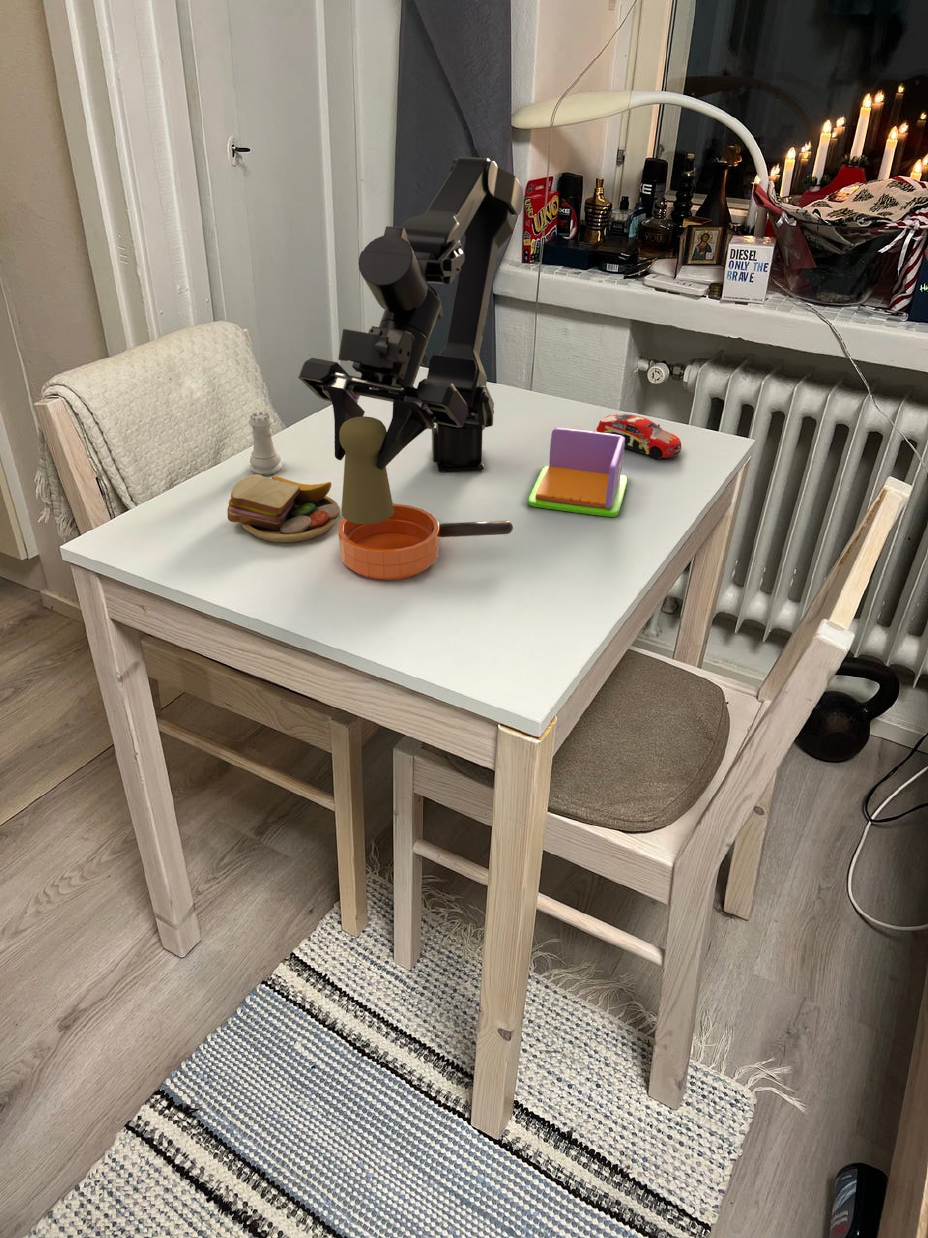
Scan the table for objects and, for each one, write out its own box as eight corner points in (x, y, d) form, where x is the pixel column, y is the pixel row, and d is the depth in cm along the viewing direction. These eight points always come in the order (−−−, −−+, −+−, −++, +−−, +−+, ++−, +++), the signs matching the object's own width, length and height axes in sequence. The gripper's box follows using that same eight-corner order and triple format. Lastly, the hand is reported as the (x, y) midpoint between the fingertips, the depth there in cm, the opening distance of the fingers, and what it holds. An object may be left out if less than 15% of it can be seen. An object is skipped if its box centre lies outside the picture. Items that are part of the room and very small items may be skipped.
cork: (402, 504, 107) (399, 414, 100) (381, 528, 102) (376, 435, 96) (355, 495, 108) (349, 406, 102) (332, 518, 104) (324, 427, 97)
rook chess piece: (286, 463, 130) (280, 409, 125) (277, 477, 126) (271, 421, 121) (255, 461, 130) (248, 407, 125) (246, 475, 126) (238, 420, 122)
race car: (687, 453, 134) (691, 427, 132) (668, 465, 131) (672, 438, 129) (611, 429, 141) (613, 404, 139) (591, 439, 138) (593, 414, 136)
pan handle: (511, 529, 109) (512, 517, 109) (513, 536, 108) (514, 524, 107) (431, 533, 109) (431, 521, 108) (432, 540, 107) (432, 527, 106)
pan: (434, 530, 114) (434, 501, 112) (443, 579, 105) (443, 549, 102) (340, 534, 113) (338, 505, 111) (341, 584, 103) (338, 554, 101)
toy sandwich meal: (312, 553, 109) (308, 518, 106) (213, 534, 113) (208, 499, 110) (357, 508, 119) (355, 474, 116) (265, 491, 122) (261, 458, 120)
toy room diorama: (628, 479, 127) (634, 432, 123) (617, 518, 117) (623, 469, 113) (543, 468, 129) (546, 422, 125) (525, 506, 120) (528, 457, 116)
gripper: (299, 283, 98) (249, 417, 96) (456, 307, 91) (406, 451, 89) (344, 335, 108) (299, 457, 106) (487, 360, 102) (443, 490, 100)
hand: (357, 463), depth 100 cm, fingers closed on cork, 5 cm apart
